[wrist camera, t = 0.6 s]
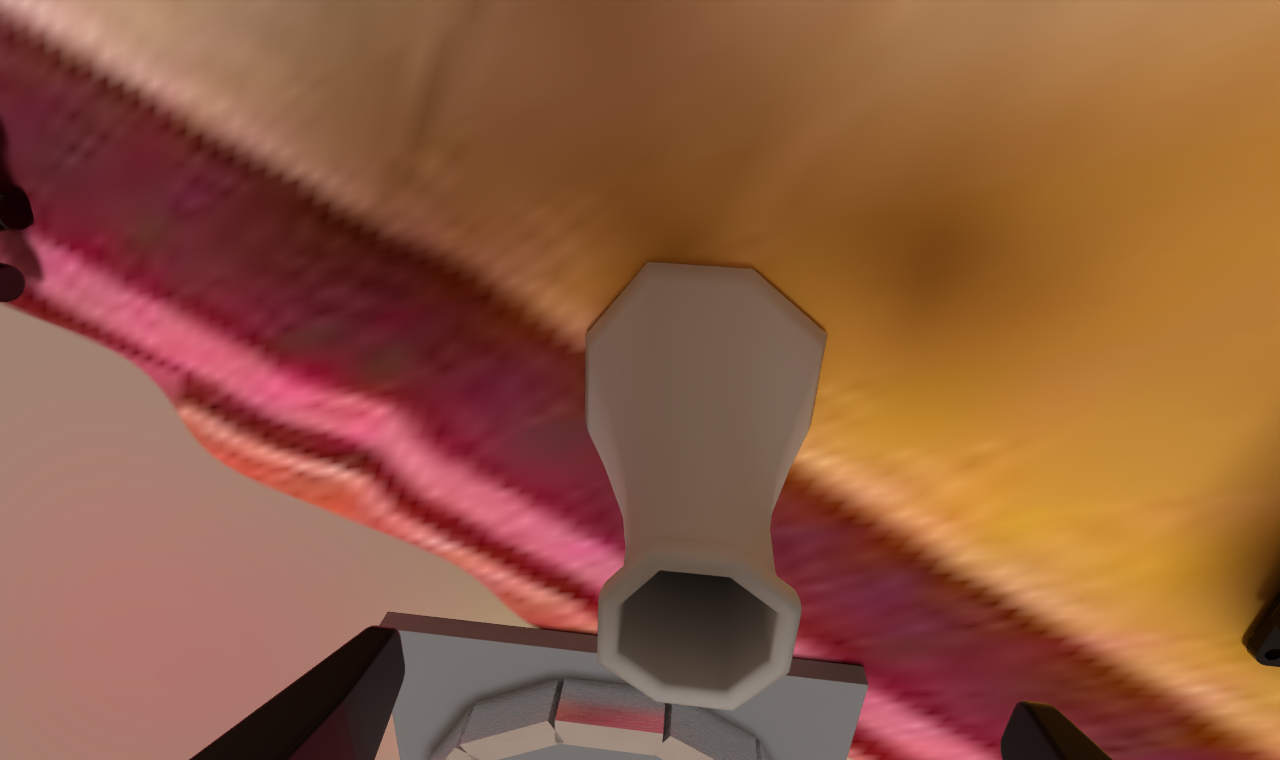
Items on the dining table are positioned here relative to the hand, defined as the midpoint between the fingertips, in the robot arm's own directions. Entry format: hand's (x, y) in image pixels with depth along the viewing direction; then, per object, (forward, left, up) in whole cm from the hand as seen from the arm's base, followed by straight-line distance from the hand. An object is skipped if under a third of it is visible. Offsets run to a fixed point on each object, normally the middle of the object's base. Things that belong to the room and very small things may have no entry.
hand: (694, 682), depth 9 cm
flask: (0, 0, -11) cm, 11 cm away
